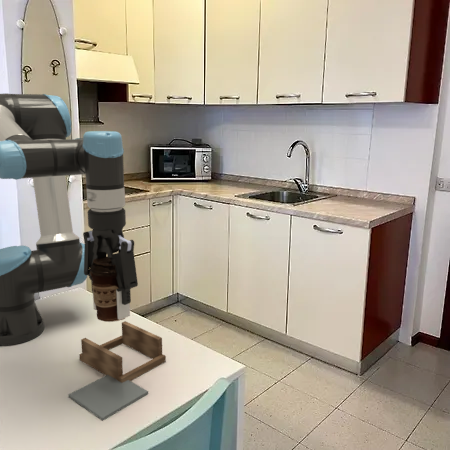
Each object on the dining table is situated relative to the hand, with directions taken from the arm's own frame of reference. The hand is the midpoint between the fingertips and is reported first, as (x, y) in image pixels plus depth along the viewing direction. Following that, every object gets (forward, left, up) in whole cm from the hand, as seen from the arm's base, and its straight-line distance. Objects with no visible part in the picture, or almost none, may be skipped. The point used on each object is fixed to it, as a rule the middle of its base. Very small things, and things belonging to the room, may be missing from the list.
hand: (111, 312), depth 101 cm
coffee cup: (0, 0, -1) cm, 1 cm away
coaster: (+2, -3, -18) cm, 18 cm away
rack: (-7, +8, -18) cm, 20 cm away
